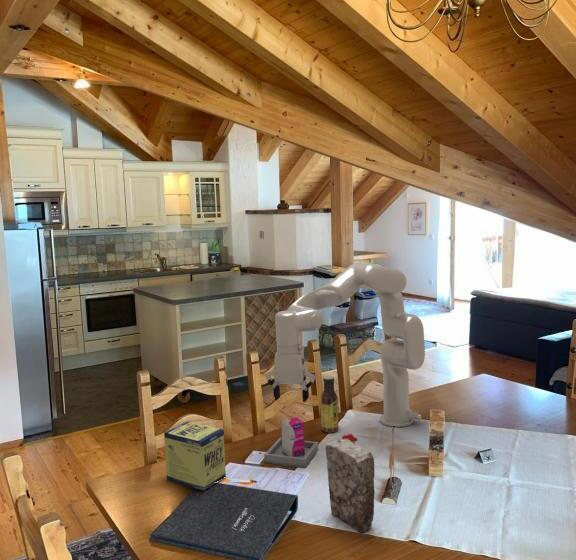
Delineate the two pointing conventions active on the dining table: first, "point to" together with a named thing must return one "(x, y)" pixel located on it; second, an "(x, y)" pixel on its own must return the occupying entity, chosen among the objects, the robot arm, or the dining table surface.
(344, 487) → the stone block
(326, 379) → the sauce bottle
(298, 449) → the supplement box
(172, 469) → the protein box
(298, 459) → the slate tray
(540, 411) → the dining table surface
